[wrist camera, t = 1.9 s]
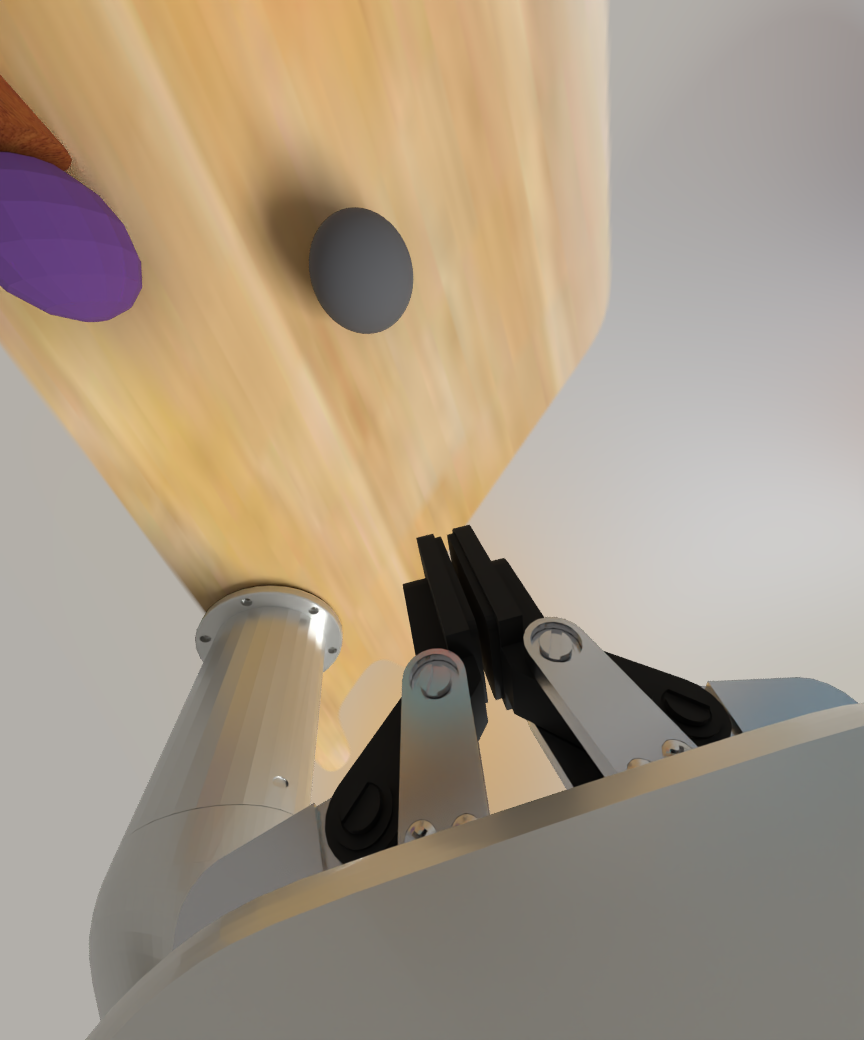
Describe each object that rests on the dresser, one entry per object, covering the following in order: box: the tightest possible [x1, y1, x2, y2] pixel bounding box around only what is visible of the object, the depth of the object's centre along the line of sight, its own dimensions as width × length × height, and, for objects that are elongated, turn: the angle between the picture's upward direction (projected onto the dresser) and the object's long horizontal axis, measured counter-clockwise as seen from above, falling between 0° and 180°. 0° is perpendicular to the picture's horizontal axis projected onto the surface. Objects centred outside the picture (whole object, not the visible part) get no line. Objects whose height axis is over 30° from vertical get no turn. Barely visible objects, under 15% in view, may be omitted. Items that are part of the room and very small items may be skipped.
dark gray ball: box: [309, 207, 413, 334], centre depth 18 cm, size 6×6×6 cm
